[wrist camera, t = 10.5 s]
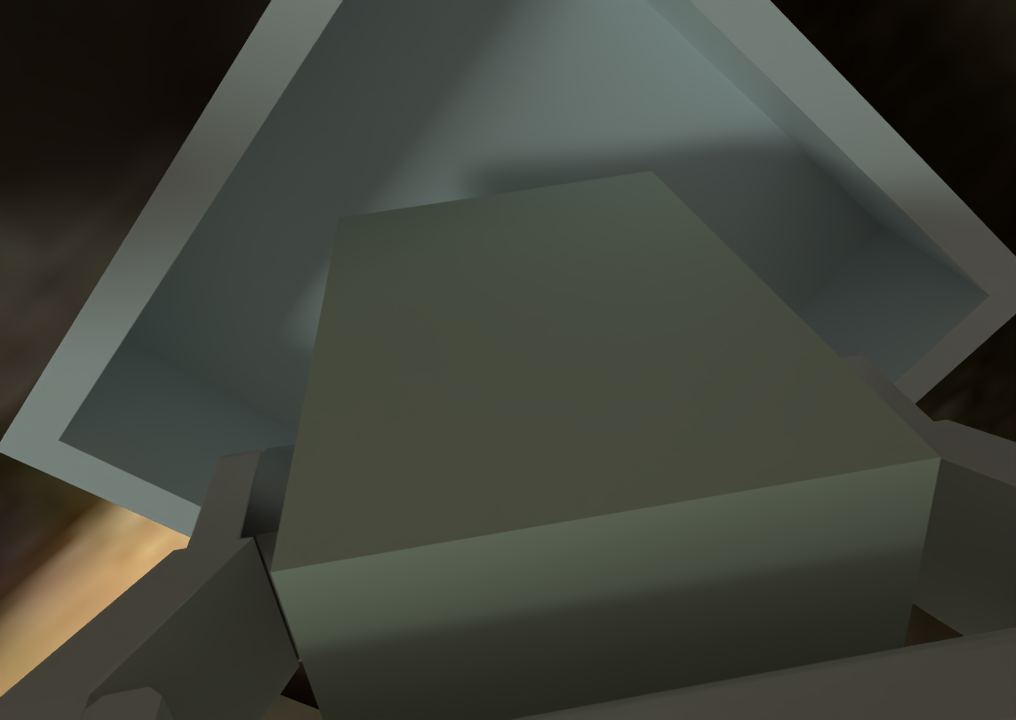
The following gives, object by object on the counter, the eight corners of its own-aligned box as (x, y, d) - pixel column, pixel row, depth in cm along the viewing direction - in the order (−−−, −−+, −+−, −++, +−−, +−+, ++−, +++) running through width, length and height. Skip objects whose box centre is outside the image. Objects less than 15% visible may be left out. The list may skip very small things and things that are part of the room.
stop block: (651, 171, 11) (940, 456, 5) (657, 428, 14) (867, 838, 8) (338, 217, 11) (270, 572, 5) (397, 471, 13) (397, 928, 7)
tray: (911, 210, 15) (1045, 287, 12) (544, 576, 18) (573, 709, 15) (446, -250, 11) (465, -317, 8) (83, 333, 14) (-5, 450, 11)
